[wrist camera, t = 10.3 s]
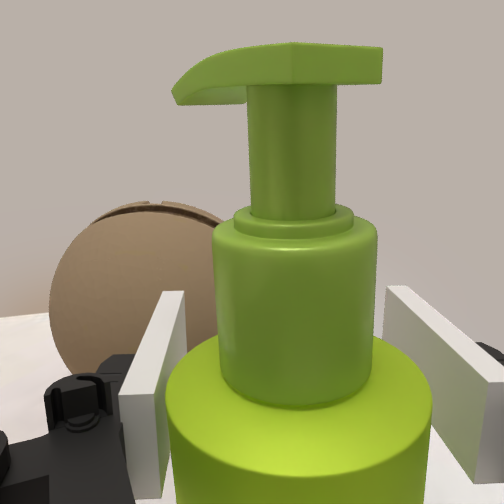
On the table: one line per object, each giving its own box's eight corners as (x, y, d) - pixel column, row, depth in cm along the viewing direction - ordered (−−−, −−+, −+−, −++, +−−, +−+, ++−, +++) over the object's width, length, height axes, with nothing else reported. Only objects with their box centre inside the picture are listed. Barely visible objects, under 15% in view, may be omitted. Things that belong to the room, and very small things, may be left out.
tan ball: (305, 399, 33) (311, 200, 29) (118, 505, 24) (90, 232, 20) (194, 335, 44) (188, 184, 40) (36, 390, 34) (7, 200, 31)
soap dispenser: (299, 579, 19) (295, 71, 13) (440, 782, 13) (549, 23, 7) (167, 665, 16) (83, 67, 10) (270, 975, 10) (215, -17, 4)
